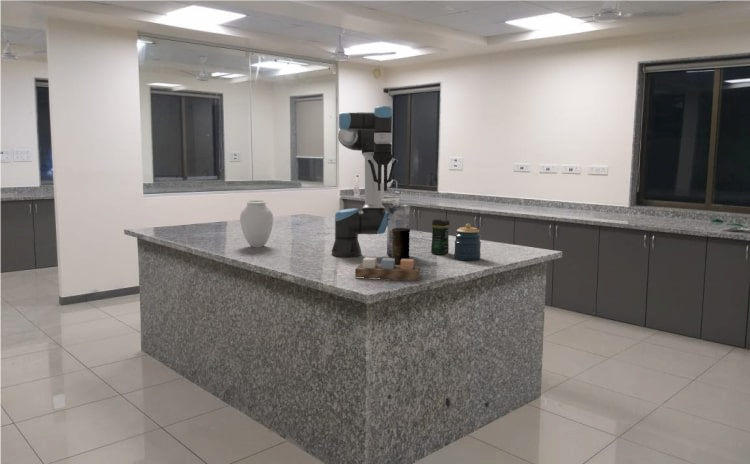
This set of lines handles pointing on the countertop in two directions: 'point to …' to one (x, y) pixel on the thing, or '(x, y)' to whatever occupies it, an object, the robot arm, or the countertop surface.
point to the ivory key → (369, 262)
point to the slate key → (388, 263)
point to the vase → (256, 223)
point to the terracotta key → (407, 264)
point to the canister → (467, 244)
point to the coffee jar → (440, 236)
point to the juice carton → (396, 221)
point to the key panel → (388, 273)
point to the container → (400, 244)
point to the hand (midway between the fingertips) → (382, 198)
